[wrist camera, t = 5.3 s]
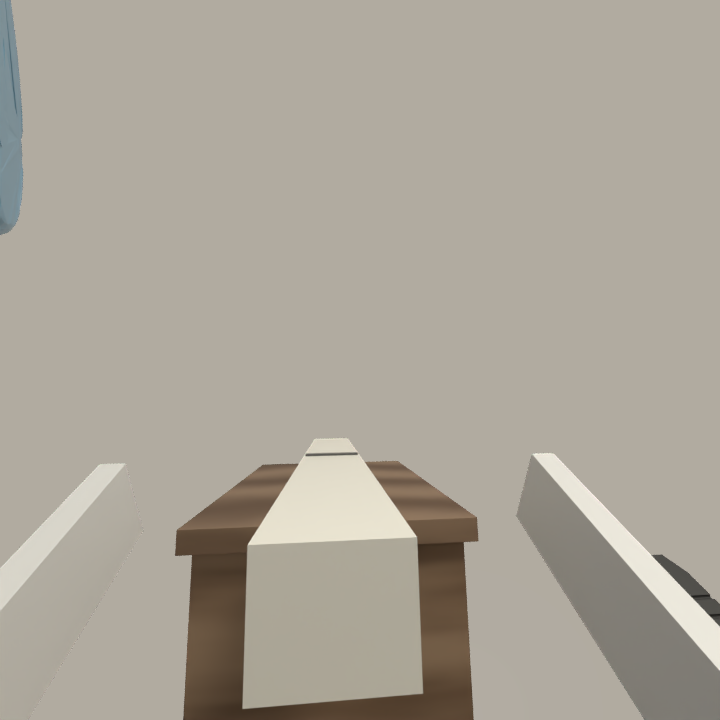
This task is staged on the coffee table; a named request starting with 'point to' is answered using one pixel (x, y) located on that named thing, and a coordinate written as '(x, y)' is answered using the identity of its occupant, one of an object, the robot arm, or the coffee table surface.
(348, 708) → the plinth
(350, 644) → the off-white matte box
